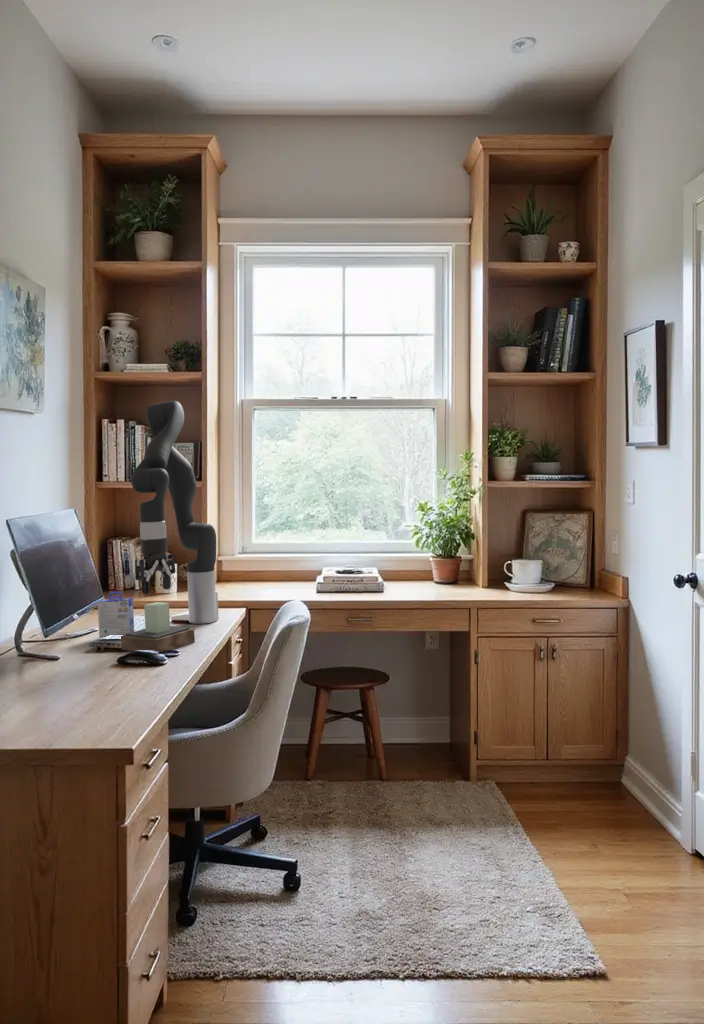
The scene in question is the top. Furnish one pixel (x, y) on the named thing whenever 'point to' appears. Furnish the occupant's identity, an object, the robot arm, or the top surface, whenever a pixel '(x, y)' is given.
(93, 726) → the top surface
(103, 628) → the ink cartridge box
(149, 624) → the sage block
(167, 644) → the walnut base
